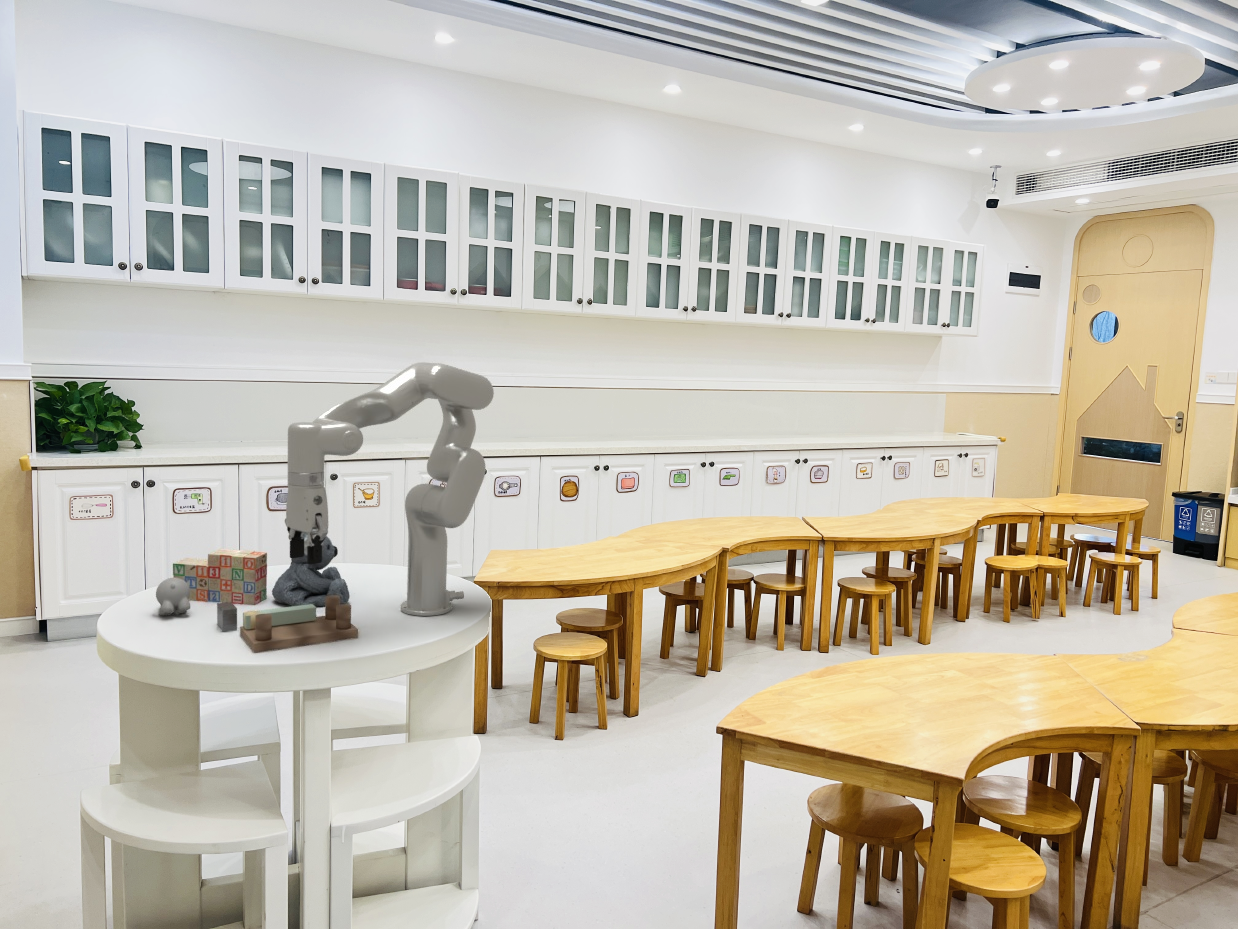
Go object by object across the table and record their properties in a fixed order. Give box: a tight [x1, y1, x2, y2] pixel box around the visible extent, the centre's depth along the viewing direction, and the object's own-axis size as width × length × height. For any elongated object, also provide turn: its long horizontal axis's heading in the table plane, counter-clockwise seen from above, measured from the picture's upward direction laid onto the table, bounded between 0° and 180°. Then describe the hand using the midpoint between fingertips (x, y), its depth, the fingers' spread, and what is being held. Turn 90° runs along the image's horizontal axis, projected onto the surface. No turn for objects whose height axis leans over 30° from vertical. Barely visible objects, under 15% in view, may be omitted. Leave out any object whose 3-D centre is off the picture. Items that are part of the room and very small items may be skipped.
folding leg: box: [242, 604, 317, 629], centre depth 196 cm, size 15×3×3 cm, turn 125°
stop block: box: [216, 602, 238, 633], centre depth 198 cm, size 3×6×5 cm, turn 35°
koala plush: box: [271, 529, 350, 608], centre depth 221 cm, size 17×18×20 cm
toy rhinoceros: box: [155, 577, 191, 617], centre depth 207 cm, size 7×12×8 cm, turn 35°
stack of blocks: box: [172, 548, 268, 606], centre depth 219 cm, size 21×6×12 cm, turn 85°
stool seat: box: [239, 595, 359, 654], centre depth 194 cm, size 22×13×7 cm, turn 125°
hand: (305, 559), depth 192 cm, fingers open, 6 cm apart
